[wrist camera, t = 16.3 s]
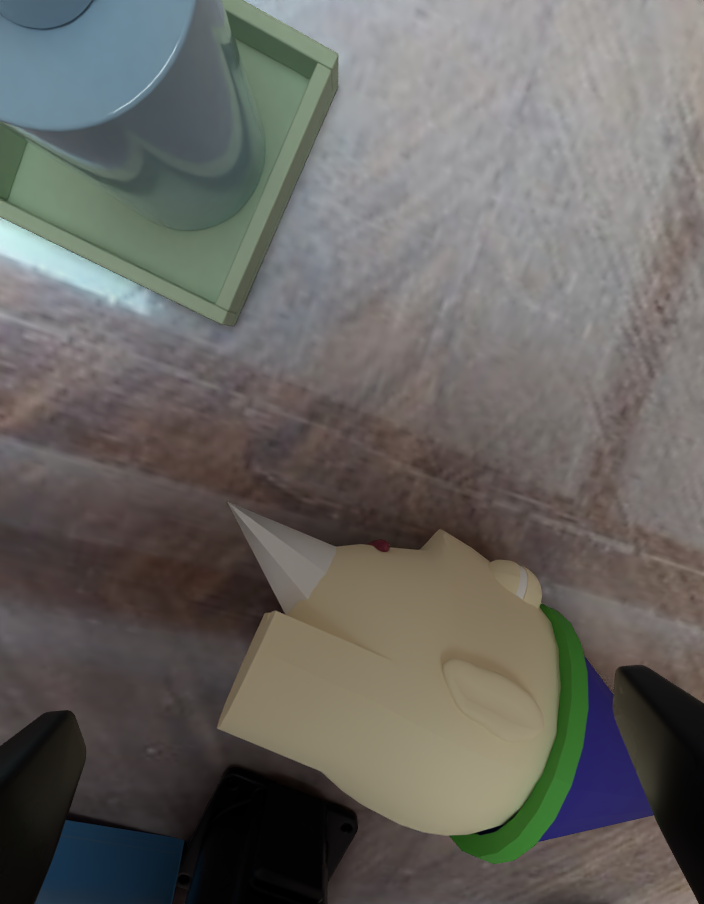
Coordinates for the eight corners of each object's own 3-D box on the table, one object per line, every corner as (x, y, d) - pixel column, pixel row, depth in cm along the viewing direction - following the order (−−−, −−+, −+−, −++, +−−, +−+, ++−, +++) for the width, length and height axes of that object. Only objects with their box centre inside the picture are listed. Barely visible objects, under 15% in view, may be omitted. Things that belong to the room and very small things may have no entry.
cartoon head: (252, 472, 24) (637, 654, 25) (140, 686, 20) (594, 883, 22) (265, 394, 16) (832, 669, 17) (84, 729, 12) (812, 1037, 14)
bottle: (294, 187, 18) (216, -89, 7) (150, 259, 19) (-165, 117, 7) (217, 18, 17) (-37, -671, 6) (67, 97, 18) (-475, -394, 6)
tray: (234, 327, 20) (222, 325, 18) (-1, 212, 19) (-43, 196, 17) (338, 85, 18) (338, 53, 16) (89, -53, 17) (56, -107, 15)
